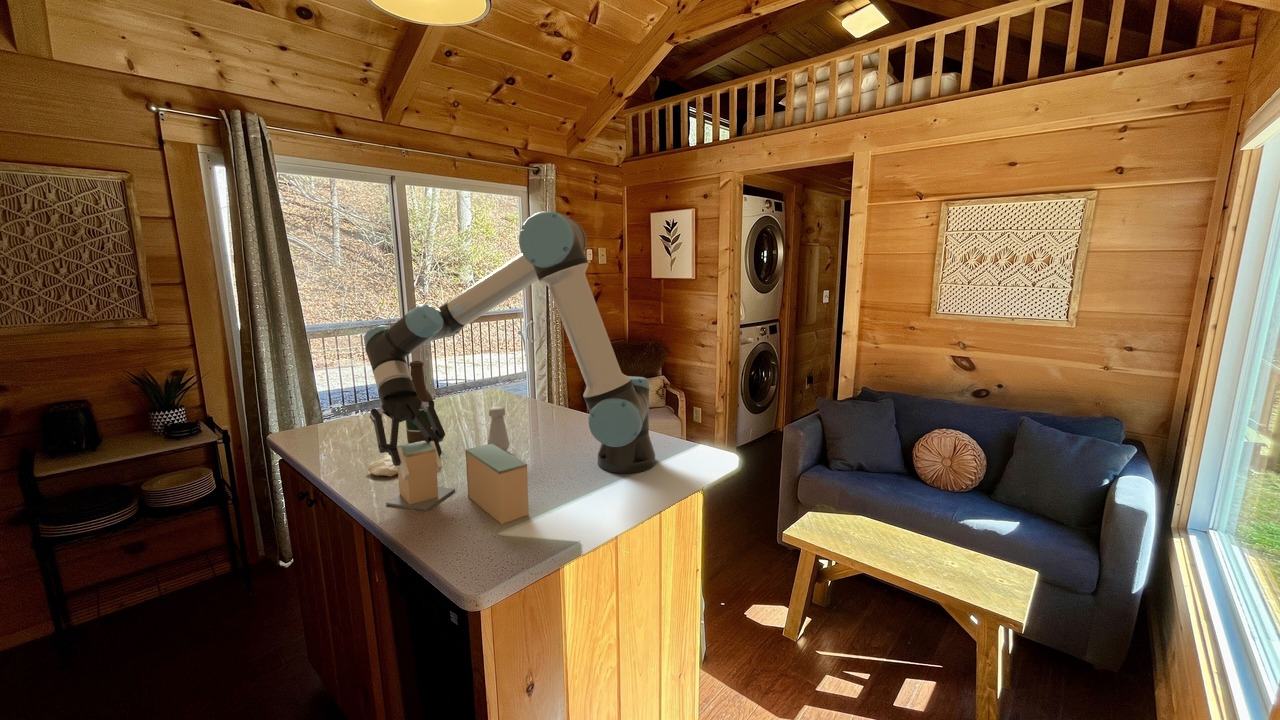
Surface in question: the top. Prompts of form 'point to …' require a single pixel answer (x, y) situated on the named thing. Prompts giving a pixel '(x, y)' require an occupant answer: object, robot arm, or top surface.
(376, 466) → the cream lumpy flat piece
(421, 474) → the stub
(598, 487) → the top surface
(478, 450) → the tan wooden box
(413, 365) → the beer bottle
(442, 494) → the coaster
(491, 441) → the salt shaker
